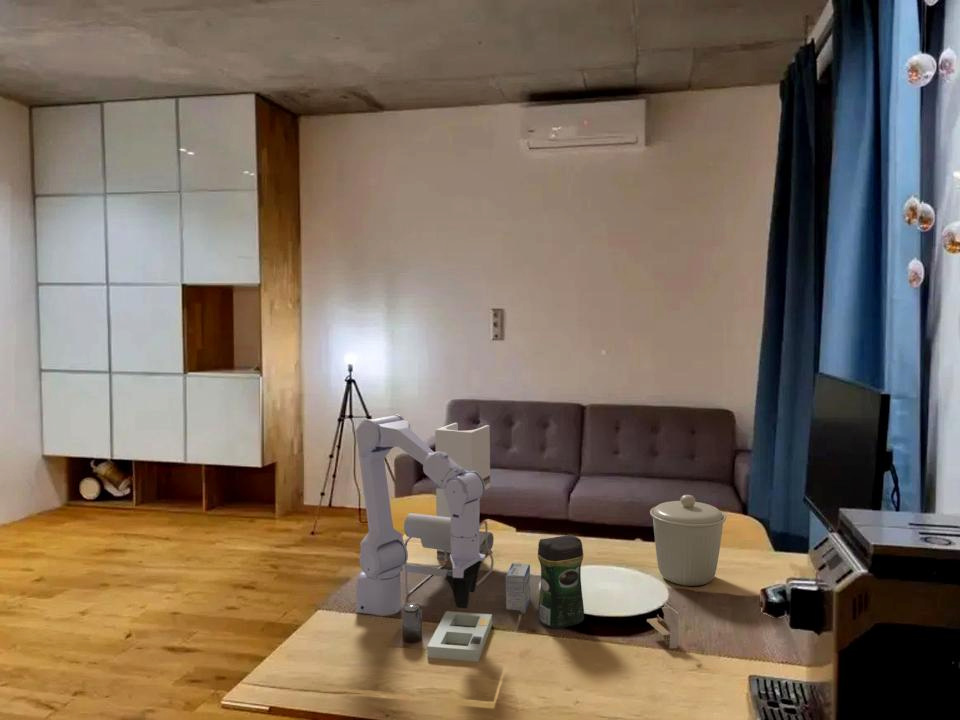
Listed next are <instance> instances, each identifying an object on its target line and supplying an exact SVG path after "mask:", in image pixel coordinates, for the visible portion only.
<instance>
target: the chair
mask: <svg viewBox="0 0 960 720" xmlns="http://www.w3.org/2000/svg"><path fill="white" fill-rule="evenodd" d="M483 524H484V526H485V531H482V530H479V550H485V551H488V553H487V554H488V555H489V557H490V561H491V565H490V569H489V571H488V572H487V573H486V574H484V575H483V576H482V577H481V578H480V580H478V581H477V583H476V586H477V585H478V584H479V585H480V584H481V583H482V582H483V581H484V580H485V579H486V578H487V577H488V576H489V575H490V574H491V573H493V569H494V563H495V561H494V557H493V555H492V553H491V550H492V549H493V546H494V534H493V533H492V532H489V531H488V522H487V520H482V521H481V522H479V528H480V527H482V526H483ZM403 528H404V529H403V531H404V534H405V536H406V537H407V538H406V539H405V542H404V544H405V546H406V548H407V546H408V543H409V541H410V540H411V539H412V538H413V539H414V538H415V539H420V543H421V546H422V548H424V549H431V550H437V549H438V550H444V552H445V559H443V560H444V561H443V563H442V565H440V566H439V567H429V566H424V565H423V566H421V565H416V564H415V565H414V564H408V561H407V562H406V564H405V565H403V567H404V586H405V594H406V596H410V595H411V594H412V593H414V592H415V591H416V590H417V589H418V588H419V587H418V586H420V585H421V584H422V583H423V584H425V581H426V580H427V579H428V578H429V579H430V578H432V577H433V576H434V577H441V578H442V577H443V578H446V573H447V571H453V569H452V570H451V569H443V568H444V567H446V564H447V561H448V560H447V552H446V551H451V517H443V516H439V515H436V514H435V515H432V514H425V513H424V514H423V513H415V512H409V513H408V514H407V515H406V517H405V520H404V524H403ZM408 572H409V573H413V574H414V573H415V574H421V575H422V574H423V575H428V576H427V577H426V578H424V579H423V580H422V581H421V582H419V583H418V584H417V585H416V586H414V587H413V588H412V589H411V590H410V591H408V587H409V586H408ZM432 575H433V576H432ZM431 576H432V577H431ZM429 579H428V580H429ZM428 580H427V581H428ZM423 584H422V585H423ZM422 585H421V586H422ZM479 585H478V586H479ZM421 586H420V587H421ZM478 586H477V587H478ZM417 587H418V588H417ZM416 588H417V589H416ZM415 589H416V590H415ZM414 590H415V591H414ZM413 591H414V592H413ZM411 592H412V593H411ZM410 593H411V594H410ZM409 594H410V595H409Z"/></svg>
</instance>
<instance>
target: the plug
mask: <svg viewBox="0 0 960 720" xmlns="http://www.w3.org/2000/svg"><path fill="white" fill-rule="evenodd" d="M419 605H420V604H419V603H417V602H407V603H405V604H404V607H403V608H401V629H402V640H403V641H404V642H406V643H417V642H419V641H421V640H422V630H423V616H422V615H423V613H422V612H423V609H422V607H419Z"/></svg>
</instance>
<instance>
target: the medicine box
mask: <svg viewBox="0 0 960 720" xmlns="http://www.w3.org/2000/svg"><path fill="white" fill-rule="evenodd" d="M505 600H506V601H505V605H506V610H512V611H519V614H525V615H526V613H527V610H528V606H529V604H530V601H531V565H530V564H529V563H520V562H519V563H518V562H515V563H514V562H513V563H511V565H510V567H509V570H508V572H507V574H506V576H505Z"/></svg>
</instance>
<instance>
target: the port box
mask: <svg viewBox="0 0 960 720" xmlns="http://www.w3.org/2000/svg"><path fill="white" fill-rule="evenodd" d="M492 626H493V614H490V613H474V612H462V611H451V610H450V611H448V610H447V611H445V612H444V614H443V616H442V618H441V620H440V622H439V623H438V625H437V627H436V629H435V630H434V631H435V633H434V635H433V637H432V638H431V640H430V642H429V644H428V646H427V649H426V651H427V652H426V653H427V655H426V656H427V658H429V659H430V658H431V659H441V660H452V661H454V660H455V661H466V662H477V663H479V661H480V659H481V656H482V653H483V651H484V648H485V645H486V642H487V639H488V637H489V635H490V631H491V629H492ZM447 643H452V644H447ZM455 644H456V645H455ZM457 644H463V645H457ZM464 644H465V645H464Z"/></svg>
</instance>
